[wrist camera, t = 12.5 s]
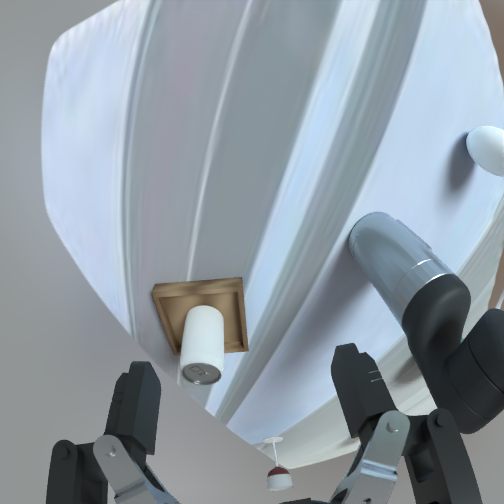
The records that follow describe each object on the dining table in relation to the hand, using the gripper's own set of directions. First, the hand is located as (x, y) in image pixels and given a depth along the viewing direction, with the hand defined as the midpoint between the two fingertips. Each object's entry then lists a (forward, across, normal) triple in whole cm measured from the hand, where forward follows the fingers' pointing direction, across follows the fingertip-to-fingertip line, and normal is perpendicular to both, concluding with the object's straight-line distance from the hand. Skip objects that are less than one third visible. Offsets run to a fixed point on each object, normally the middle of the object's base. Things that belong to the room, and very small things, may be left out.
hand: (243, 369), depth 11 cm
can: (+28, +6, +22) cm, 36 cm away
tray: (+28, +6, +22) cm, 37 cm away
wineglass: (+28, -6, +88) cm, 93 cm away
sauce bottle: (+28, -42, -8) cm, 51 cm away
